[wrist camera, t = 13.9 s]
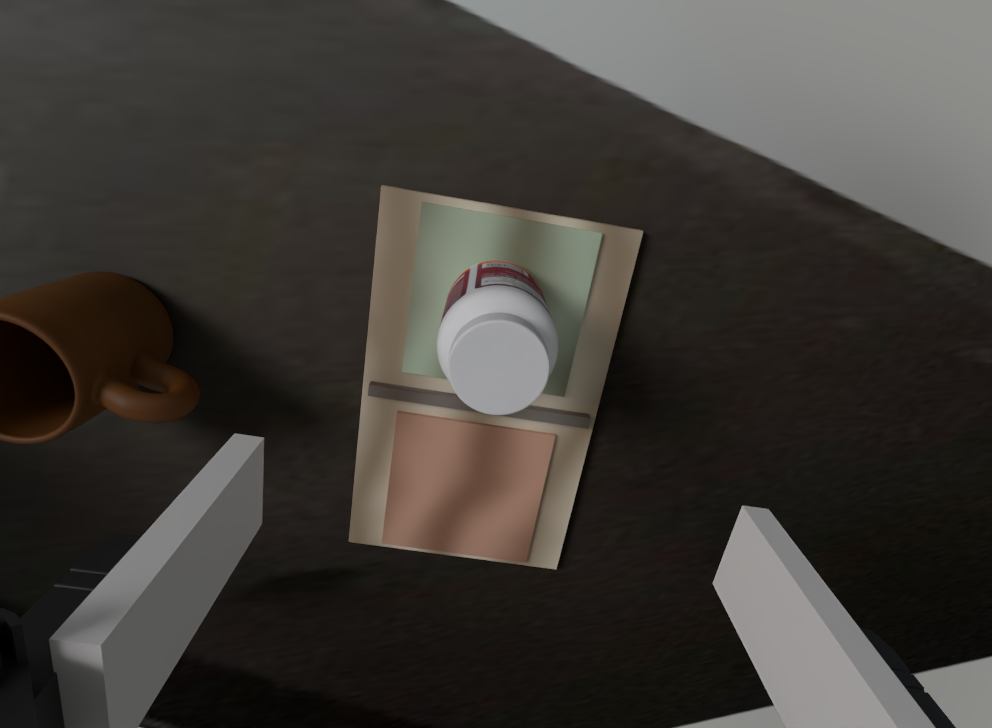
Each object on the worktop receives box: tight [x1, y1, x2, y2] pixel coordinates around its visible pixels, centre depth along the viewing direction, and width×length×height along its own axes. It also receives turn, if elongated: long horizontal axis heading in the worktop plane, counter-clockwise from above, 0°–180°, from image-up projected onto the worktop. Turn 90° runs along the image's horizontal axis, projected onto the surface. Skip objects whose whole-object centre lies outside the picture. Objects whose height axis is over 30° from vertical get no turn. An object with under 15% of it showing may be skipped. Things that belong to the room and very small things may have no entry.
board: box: [349, 185, 643, 569], centre depth 38 cm, size 16×26×1 cm, turn 170°
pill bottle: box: [437, 260, 558, 415], centre depth 31 cm, size 6×6×11 cm
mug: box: [0, 272, 200, 444], centre depth 33 cm, size 12×8×9 cm, turn 72°
